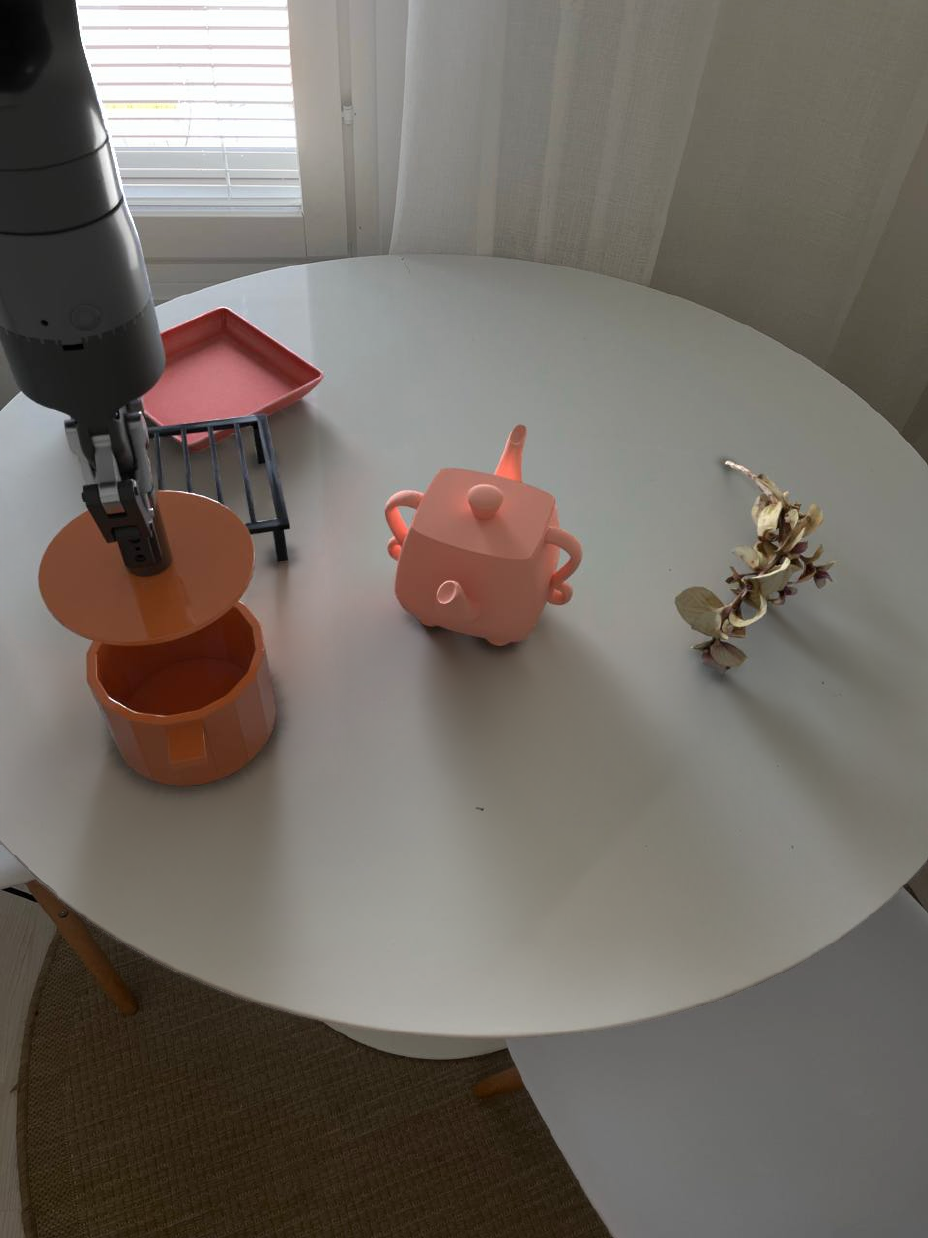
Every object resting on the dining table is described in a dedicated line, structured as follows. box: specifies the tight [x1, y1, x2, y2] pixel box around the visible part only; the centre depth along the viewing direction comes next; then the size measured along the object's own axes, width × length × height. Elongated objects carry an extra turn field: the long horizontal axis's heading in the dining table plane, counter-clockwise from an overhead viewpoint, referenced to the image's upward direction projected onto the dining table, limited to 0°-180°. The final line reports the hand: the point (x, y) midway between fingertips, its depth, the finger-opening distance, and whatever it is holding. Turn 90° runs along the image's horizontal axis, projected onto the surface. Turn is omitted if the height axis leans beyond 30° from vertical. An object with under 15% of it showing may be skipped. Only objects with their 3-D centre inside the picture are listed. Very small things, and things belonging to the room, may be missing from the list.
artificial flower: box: [674, 460, 838, 676], centre depth 83 cm, size 10×14×30 cm
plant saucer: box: [143, 306, 325, 453], centre depth 97 cm, size 18×18×3 cm
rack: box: [147, 414, 291, 563], centre depth 84 cm, size 16×16×5 cm
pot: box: [85, 600, 277, 787], centre depth 69 cm, size 12×18×8 cm
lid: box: [37, 481, 256, 646], centre depth 56 cm, size 13×13×7 cm
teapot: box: [384, 424, 583, 647], centre depth 77 cm, size 15×17×13 cm
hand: (143, 541), depth 57 cm, fingers closed on lid, 3 cm apart
